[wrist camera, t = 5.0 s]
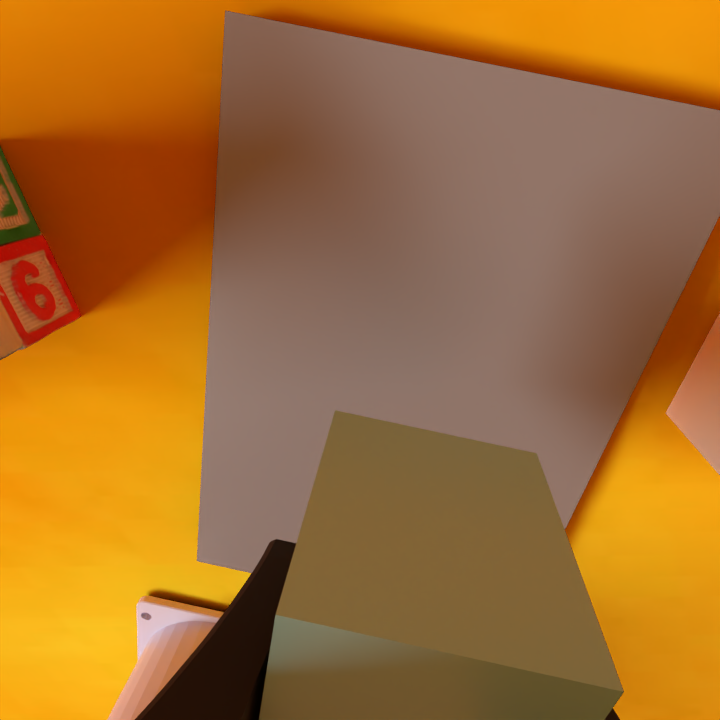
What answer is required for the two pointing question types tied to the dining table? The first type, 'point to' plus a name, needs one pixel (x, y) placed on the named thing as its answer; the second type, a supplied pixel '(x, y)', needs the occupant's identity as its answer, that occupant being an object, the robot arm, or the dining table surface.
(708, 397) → the cream brick
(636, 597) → the dining table surface
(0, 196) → the stack of blocks
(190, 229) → the dining table surface
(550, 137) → the baseplate
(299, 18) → the dining table surface
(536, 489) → the teal brick
